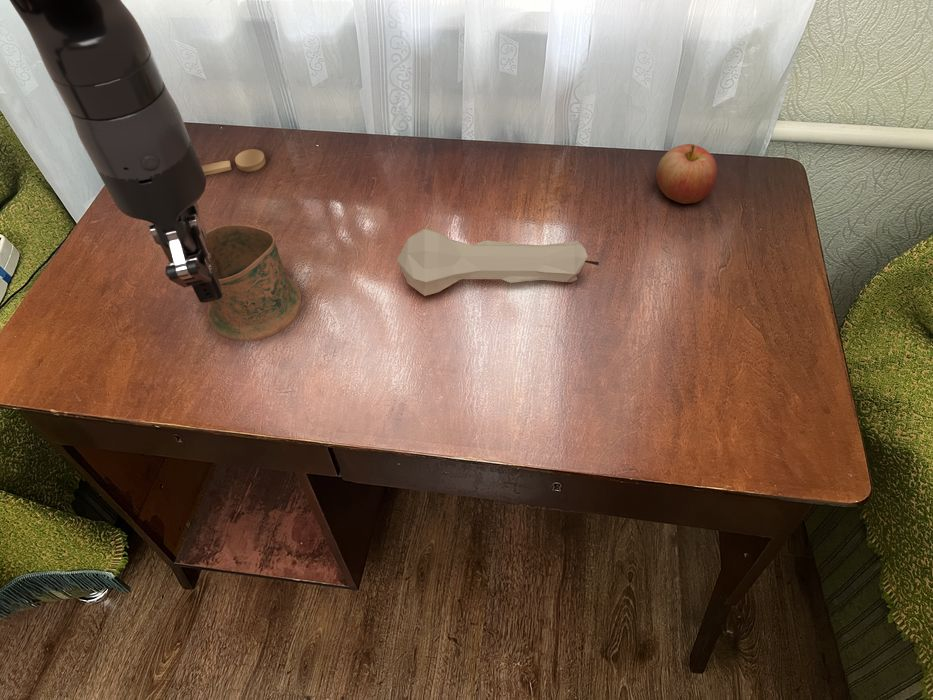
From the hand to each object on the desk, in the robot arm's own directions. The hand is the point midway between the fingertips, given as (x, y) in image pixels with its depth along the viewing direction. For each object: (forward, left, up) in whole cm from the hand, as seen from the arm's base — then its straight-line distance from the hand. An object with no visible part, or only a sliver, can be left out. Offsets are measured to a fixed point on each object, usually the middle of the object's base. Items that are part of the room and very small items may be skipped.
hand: (211, 296), depth 69 cm
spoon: (0, +42, -14) cm, 44 cm away
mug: (0, +14, -14) cm, 20 cm away
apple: (+62, +13, -14) cm, 65 cm away
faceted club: (+32, +5, -14) cm, 35 cm away
